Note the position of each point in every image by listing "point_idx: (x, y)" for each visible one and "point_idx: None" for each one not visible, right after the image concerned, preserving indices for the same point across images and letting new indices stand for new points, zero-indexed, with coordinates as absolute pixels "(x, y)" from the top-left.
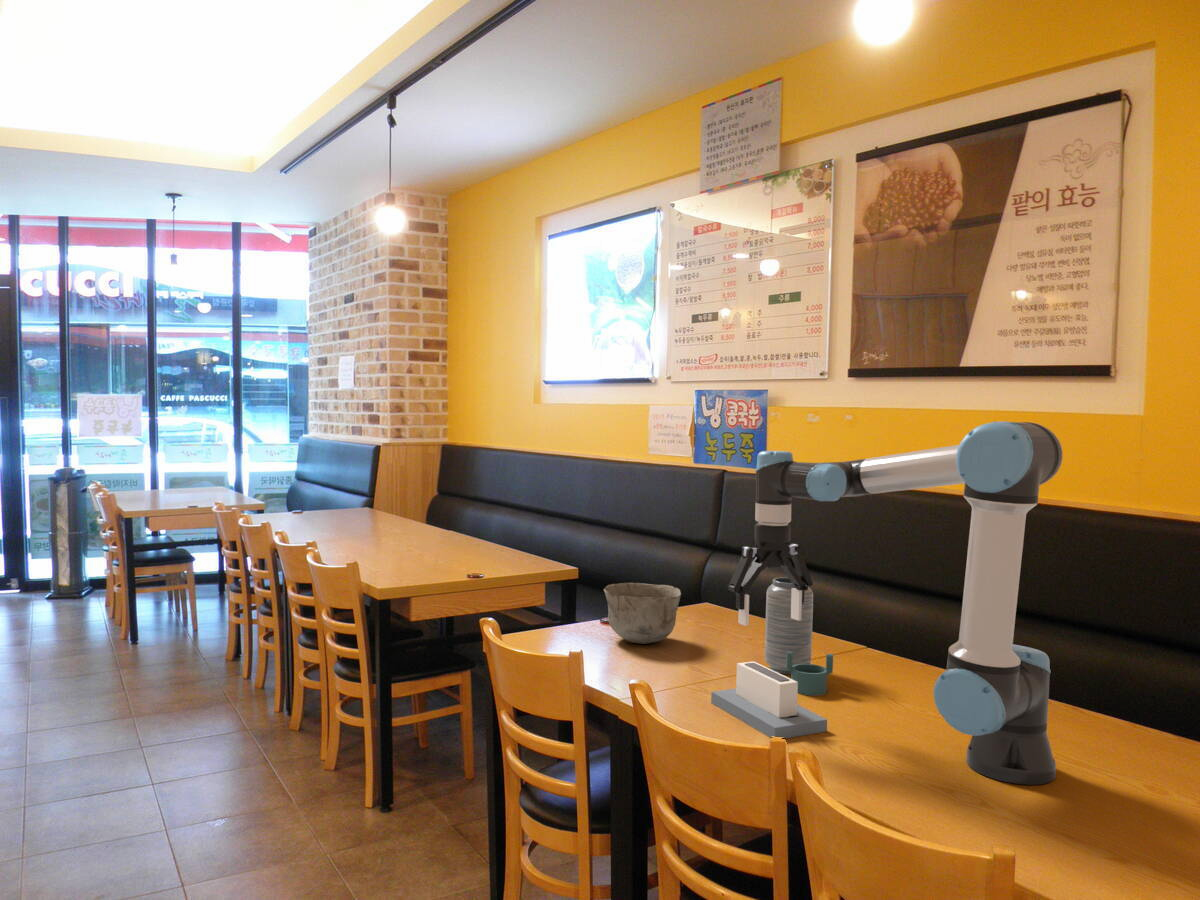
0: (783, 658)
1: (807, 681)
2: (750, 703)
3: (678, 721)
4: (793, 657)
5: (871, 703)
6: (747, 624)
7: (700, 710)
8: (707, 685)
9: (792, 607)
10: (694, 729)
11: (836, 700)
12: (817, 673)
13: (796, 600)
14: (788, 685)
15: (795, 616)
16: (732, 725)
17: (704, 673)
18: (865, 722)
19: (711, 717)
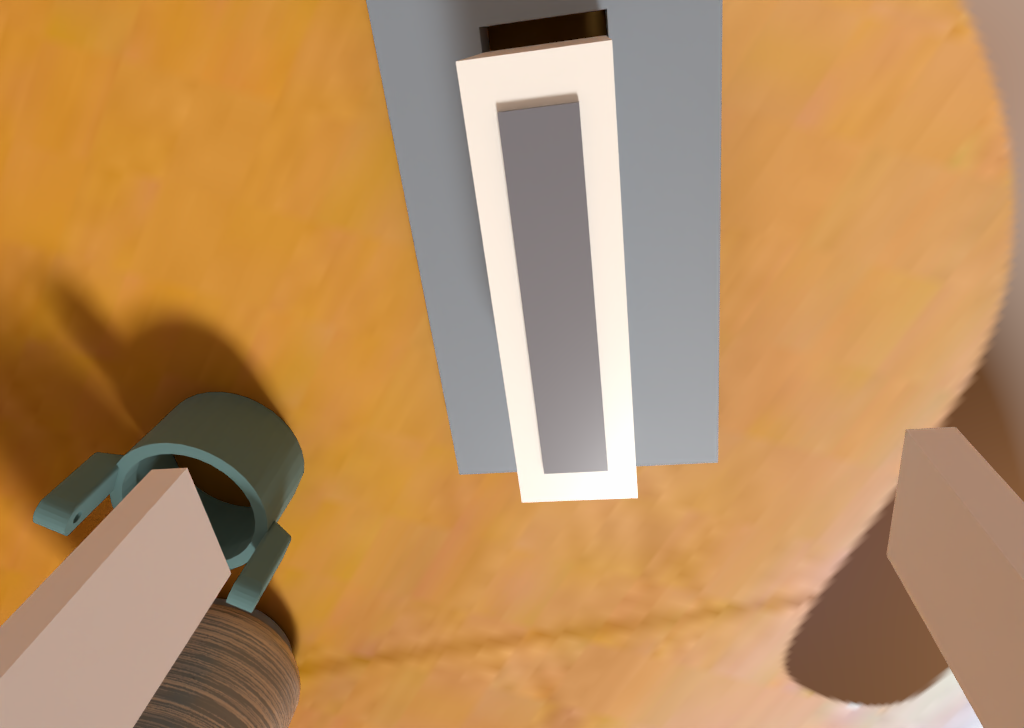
0: (244, 654)
1: (238, 437)
2: (630, 279)
3: (1003, 274)
4: (202, 644)
5: (20, 247)
6: (929, 438)
7: (811, 369)
8: (610, 593)
9: (157, 651)
10: (1007, 155)
11: (163, 319)
12: (173, 448)
13: (51, 692)
14: (537, 49)
15: (186, 534)
16: (790, 157)
17: (553, 688)
18: (126, 18)
19: (819, 280)
